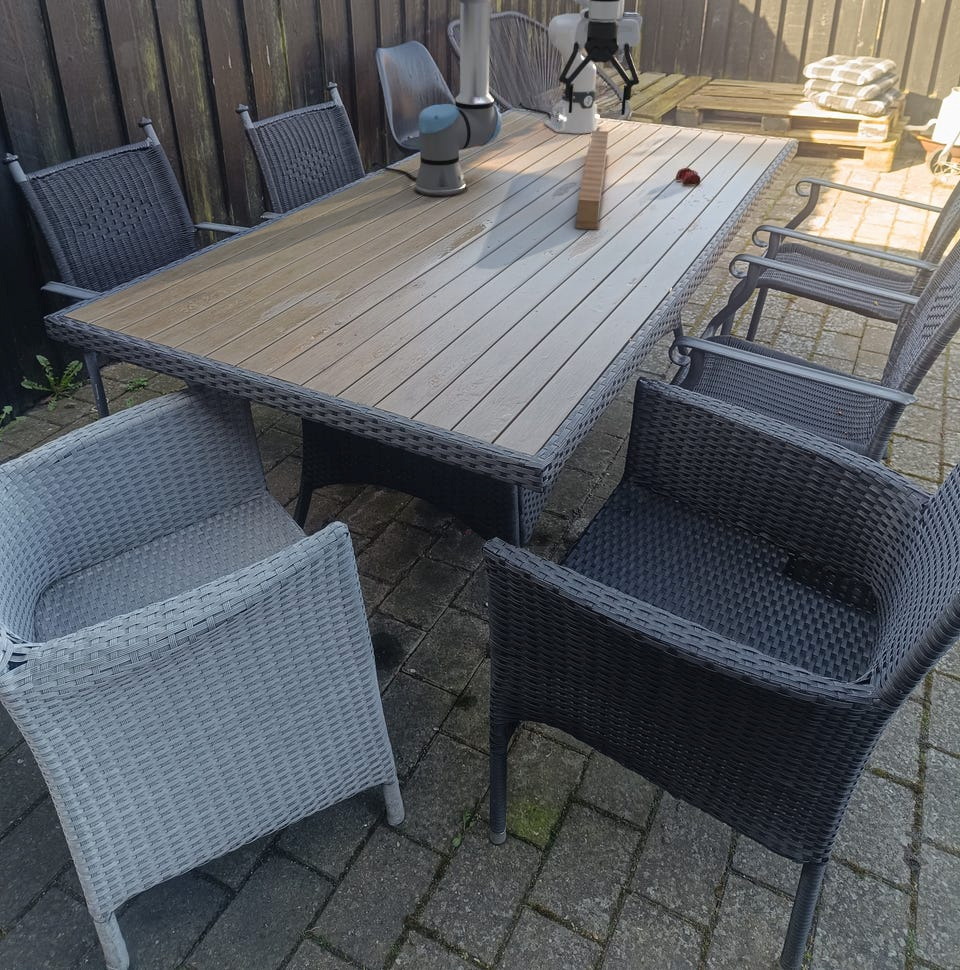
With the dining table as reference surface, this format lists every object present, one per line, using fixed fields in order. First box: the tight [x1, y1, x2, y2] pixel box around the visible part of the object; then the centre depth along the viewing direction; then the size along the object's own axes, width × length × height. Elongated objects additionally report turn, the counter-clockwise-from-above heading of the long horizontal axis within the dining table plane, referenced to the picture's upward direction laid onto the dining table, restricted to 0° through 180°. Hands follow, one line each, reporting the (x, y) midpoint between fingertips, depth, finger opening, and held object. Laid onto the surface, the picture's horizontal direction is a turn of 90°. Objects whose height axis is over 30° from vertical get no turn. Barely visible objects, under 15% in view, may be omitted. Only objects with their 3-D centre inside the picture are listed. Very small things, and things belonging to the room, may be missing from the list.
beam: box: [576, 130, 609, 230], centre depth 258 cm, size 78×6×8 cm, turn 171°
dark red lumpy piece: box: [675, 167, 701, 186], centre depth 263 cm, size 6×4×8 cm
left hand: (596, 112), depth 219 cm, fingers open, 13 cm apart
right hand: (605, 61), depth 267 cm, fingers open, 8 cm apart
